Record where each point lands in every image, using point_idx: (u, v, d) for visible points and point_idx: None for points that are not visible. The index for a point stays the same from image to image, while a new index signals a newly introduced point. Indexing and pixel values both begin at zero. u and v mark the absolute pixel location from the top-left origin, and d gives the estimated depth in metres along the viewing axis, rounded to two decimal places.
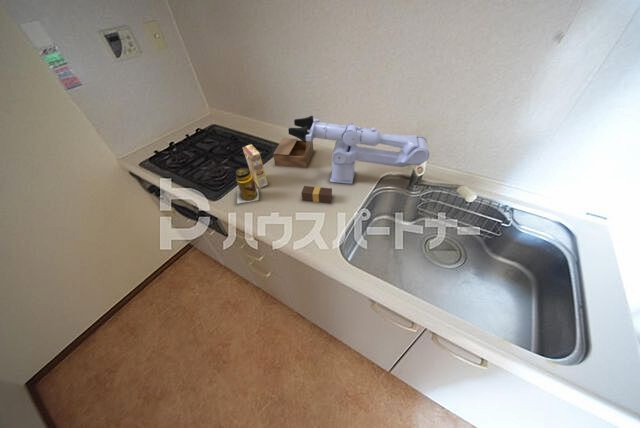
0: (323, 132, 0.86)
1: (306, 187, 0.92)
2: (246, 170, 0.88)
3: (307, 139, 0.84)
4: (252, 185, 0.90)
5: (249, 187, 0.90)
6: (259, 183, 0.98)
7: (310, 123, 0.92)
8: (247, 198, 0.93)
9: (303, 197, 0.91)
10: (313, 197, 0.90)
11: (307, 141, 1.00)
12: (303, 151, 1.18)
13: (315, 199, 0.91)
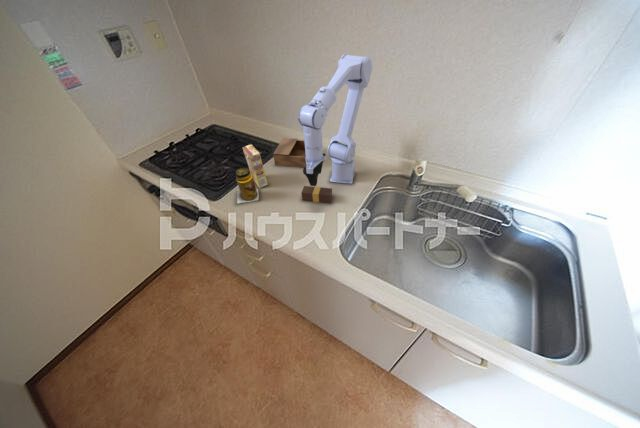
0: None
1: (306, 187, 0.92)
2: (246, 170, 0.88)
3: None
4: (252, 185, 0.90)
5: (249, 187, 0.90)
6: (259, 183, 0.98)
7: None
8: (247, 198, 0.93)
9: (303, 197, 0.91)
10: (313, 197, 0.90)
11: None
12: (303, 151, 1.18)
13: (315, 199, 0.91)
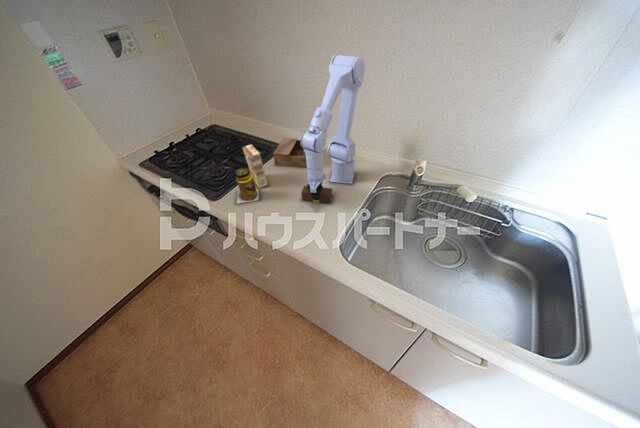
0: None
1: (306, 187, 0.92)
2: (246, 170, 0.88)
3: None
4: (252, 185, 0.90)
5: (249, 187, 0.90)
6: (259, 183, 0.98)
7: None
8: (247, 198, 0.93)
9: (303, 197, 0.91)
10: None
11: None
12: (303, 151, 1.18)
13: None
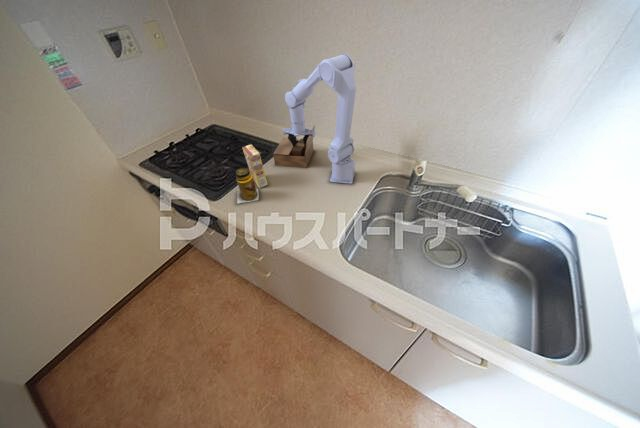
0: (303, 123, 1.01)
1: None
2: (246, 170, 0.88)
3: (315, 133, 1.04)
4: (252, 185, 0.90)
5: (249, 187, 0.90)
6: (259, 183, 0.98)
7: (294, 136, 1.06)
8: (247, 198, 0.93)
9: None
10: None
11: (307, 141, 1.00)
12: None
13: None
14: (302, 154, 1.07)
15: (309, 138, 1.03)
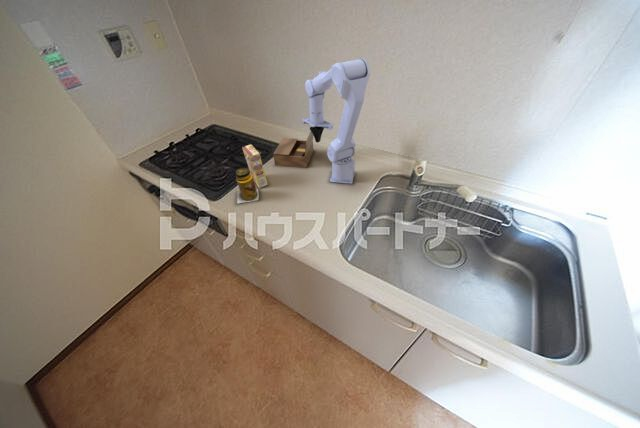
0: (321, 114, 0.98)
1: None
2: (246, 170, 0.88)
3: (332, 127, 1.00)
4: (252, 185, 0.90)
5: (249, 187, 0.90)
6: (259, 183, 0.98)
7: None
8: (247, 198, 0.93)
9: None
10: None
11: (307, 141, 1.00)
12: None
13: None
14: None
15: (309, 138, 1.03)
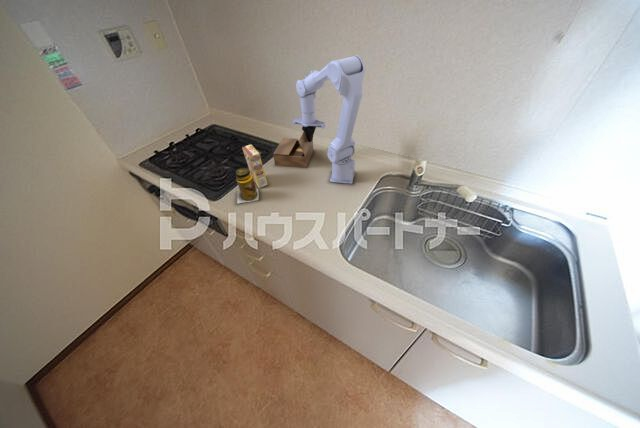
0: (313, 114, 0.98)
1: None
2: (246, 170, 0.88)
3: (324, 125, 1.01)
4: (252, 185, 0.90)
5: (249, 187, 0.90)
6: (259, 183, 0.98)
7: None
8: (247, 198, 0.93)
9: None
10: None
11: (300, 141, 1.01)
12: None
13: None
14: None
15: (302, 138, 1.03)
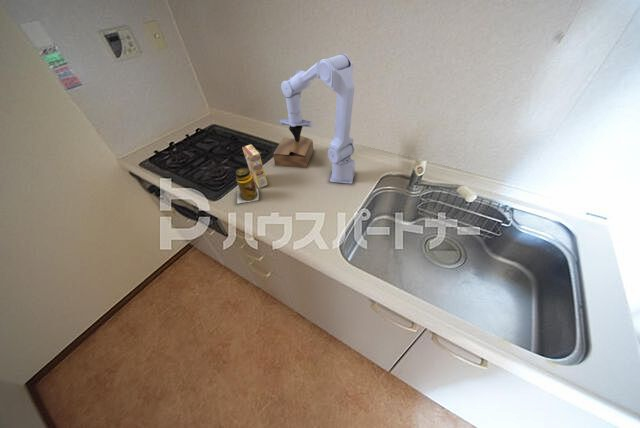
0: (300, 113, 1.00)
1: None
2: (246, 170, 0.88)
3: (311, 124, 1.03)
4: (252, 185, 0.90)
5: (249, 187, 0.90)
6: (259, 183, 0.98)
7: None
8: (247, 198, 0.93)
9: None
10: None
11: (291, 149, 1.05)
12: None
13: None
14: None
15: (294, 146, 1.07)
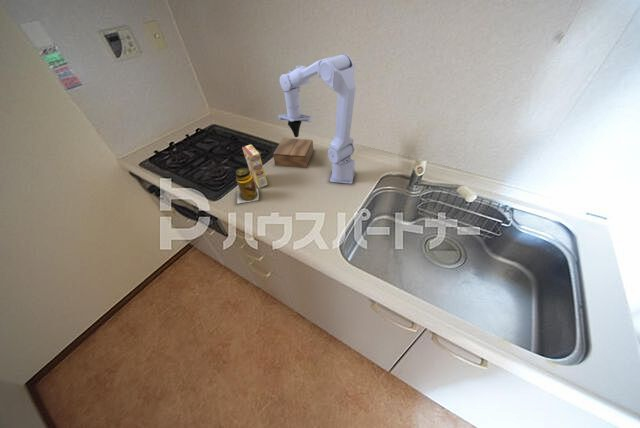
0: (298, 108, 0.98)
1: None
2: (246, 170, 0.88)
3: (310, 119, 1.02)
4: (252, 185, 0.90)
5: (249, 187, 0.90)
6: (259, 183, 0.98)
7: None
8: (247, 198, 0.93)
9: None
10: None
11: (291, 153, 1.06)
12: None
13: None
14: None
15: (294, 149, 1.08)
